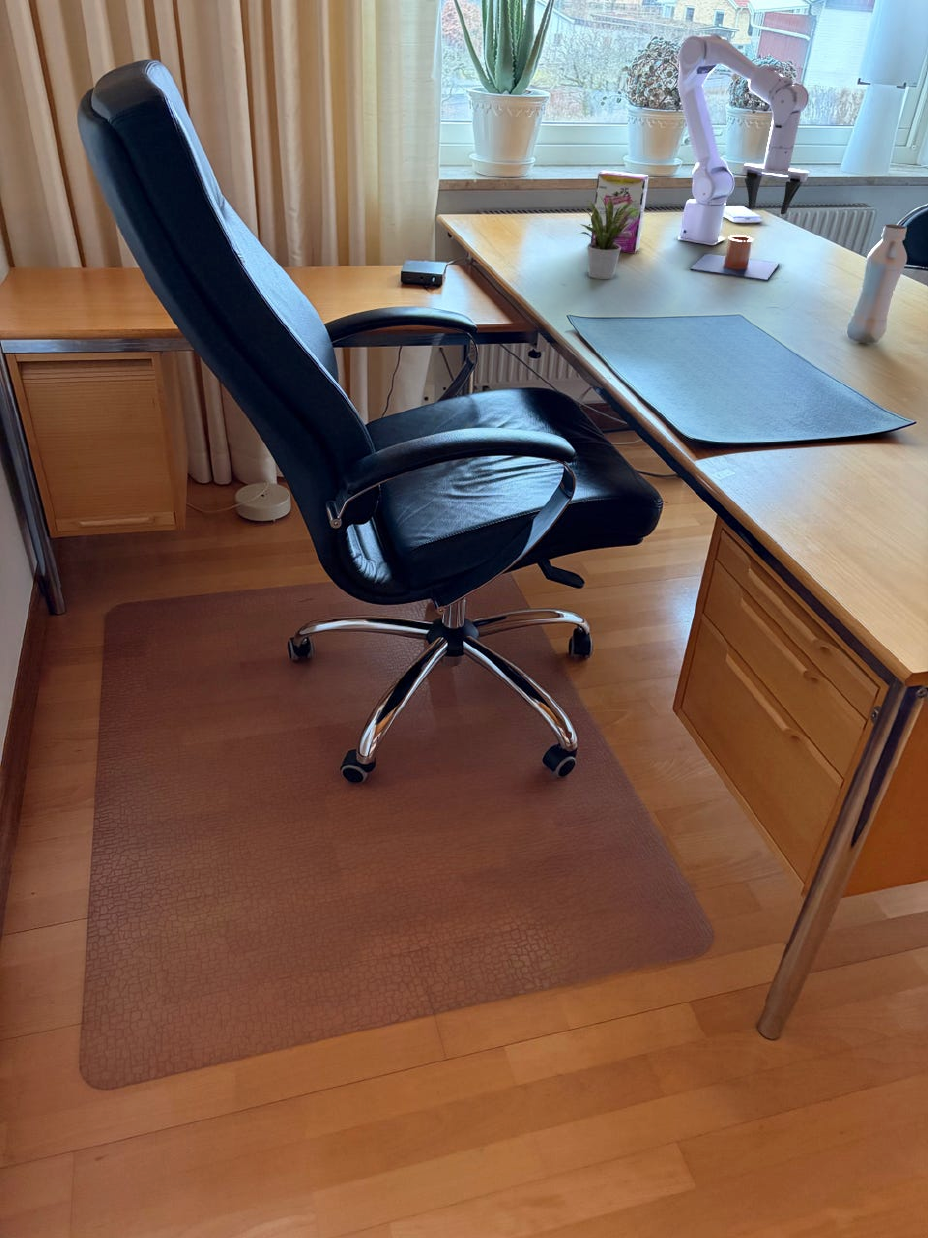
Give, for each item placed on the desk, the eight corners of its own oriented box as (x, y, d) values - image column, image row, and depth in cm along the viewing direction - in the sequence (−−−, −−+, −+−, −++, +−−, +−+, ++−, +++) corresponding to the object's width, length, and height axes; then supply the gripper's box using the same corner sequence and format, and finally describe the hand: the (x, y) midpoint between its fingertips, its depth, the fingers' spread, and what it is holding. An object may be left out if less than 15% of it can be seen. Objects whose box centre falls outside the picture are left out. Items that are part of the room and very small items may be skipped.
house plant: (647, 272, 203) (658, 193, 193) (629, 288, 193) (640, 205, 183) (586, 263, 208) (594, 185, 198) (565, 278, 197) (573, 197, 188)
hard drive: (716, 205, 253) (733, 216, 244) (744, 205, 255) (762, 216, 245) (715, 212, 254) (732, 222, 244) (743, 211, 255) (761, 222, 246)
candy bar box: (589, 248, 219) (596, 173, 209) (593, 243, 222) (601, 169, 213) (635, 253, 216) (645, 178, 206) (639, 248, 220) (649, 174, 210)
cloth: (690, 269, 206) (690, 268, 206) (706, 254, 217) (706, 253, 217) (766, 280, 200) (766, 279, 200) (778, 264, 211) (779, 263, 211)
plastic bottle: (837, 335, 171) (868, 221, 160) (872, 335, 172) (905, 222, 160) (852, 347, 166) (885, 230, 154) (888, 347, 167) (923, 231, 155)
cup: (720, 266, 208) (725, 238, 204) (728, 261, 211) (733, 234, 208) (742, 270, 205) (748, 242, 202) (750, 265, 209) (756, 237, 205)
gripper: (743, 144, 206) (731, 209, 214) (807, 152, 200) (792, 218, 208) (753, 140, 211) (741, 204, 219) (816, 148, 205) (801, 213, 213)
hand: (767, 210), depth 214 cm, fingers open, 7 cm apart
